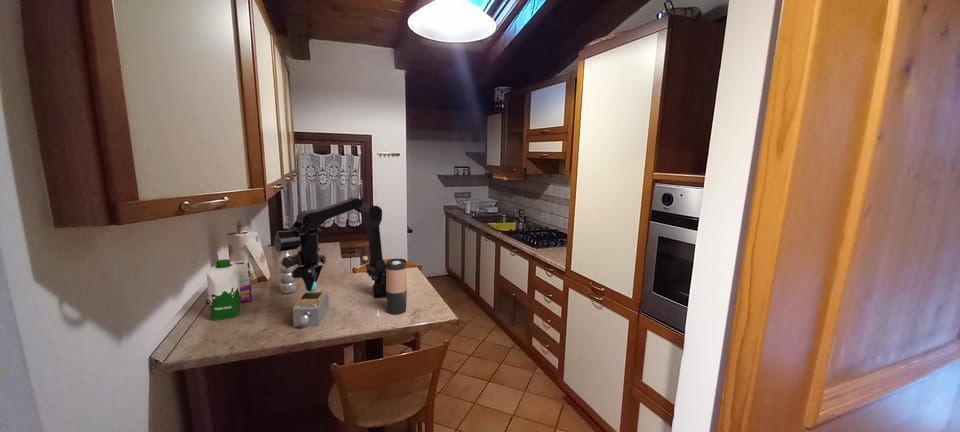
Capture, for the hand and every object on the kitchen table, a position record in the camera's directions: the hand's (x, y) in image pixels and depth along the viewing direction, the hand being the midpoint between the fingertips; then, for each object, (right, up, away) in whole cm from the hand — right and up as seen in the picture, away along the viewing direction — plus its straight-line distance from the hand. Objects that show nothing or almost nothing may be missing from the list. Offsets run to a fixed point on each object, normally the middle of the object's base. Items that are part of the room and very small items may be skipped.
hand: (311, 288), depth 121 cm
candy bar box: (-37, -8, +14) cm, 41 cm away
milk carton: (-32, -10, +2) cm, 34 cm away
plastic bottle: (-22, -7, +25) cm, 34 cm away
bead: (0, +1, 0) cm, 1 cm away
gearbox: (0, -11, +1) cm, 11 cm away
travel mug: (+29, -11, +9) cm, 32 cm away
